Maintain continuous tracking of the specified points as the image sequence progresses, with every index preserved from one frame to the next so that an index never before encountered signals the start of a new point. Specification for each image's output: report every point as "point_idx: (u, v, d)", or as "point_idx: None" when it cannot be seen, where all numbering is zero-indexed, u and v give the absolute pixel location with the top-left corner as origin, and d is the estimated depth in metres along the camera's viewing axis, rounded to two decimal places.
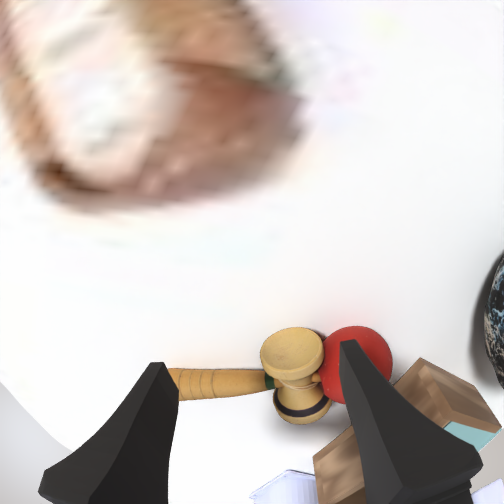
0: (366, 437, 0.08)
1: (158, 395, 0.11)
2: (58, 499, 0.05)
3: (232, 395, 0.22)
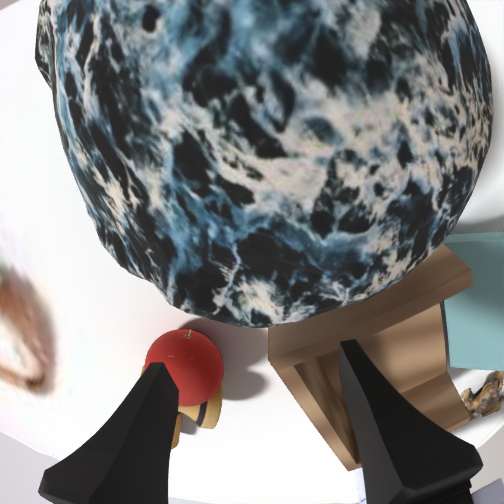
0: (366, 437, 0.08)
1: (158, 395, 0.11)
2: (58, 499, 0.05)
3: None
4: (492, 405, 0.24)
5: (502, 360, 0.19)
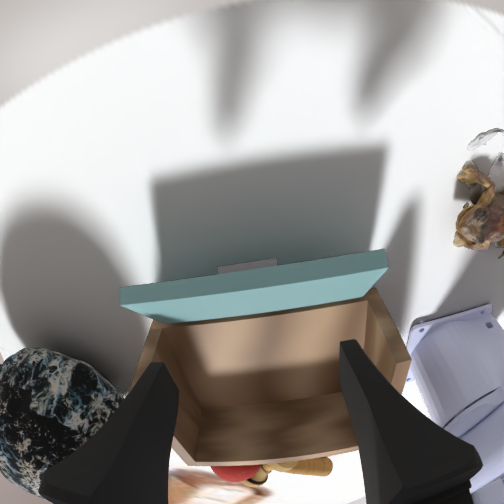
0: (366, 437, 0.08)
1: (158, 395, 0.11)
2: (58, 499, 0.05)
3: (299, 471, 0.32)
4: (502, 220, 0.15)
5: (355, 278, 0.15)
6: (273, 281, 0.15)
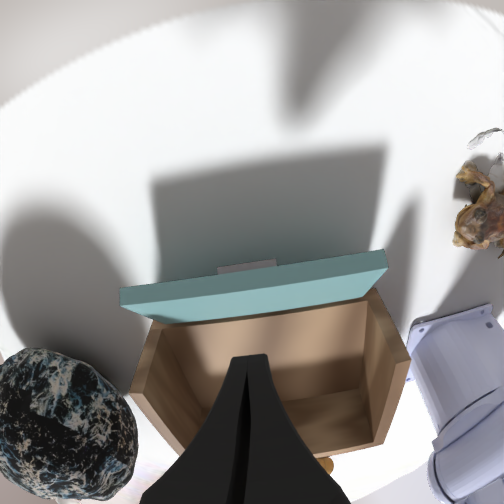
0: None
1: (248, 391, 0.10)
2: None
3: None
4: (502, 219, 0.15)
5: (355, 278, 0.15)
6: (272, 282, 0.15)
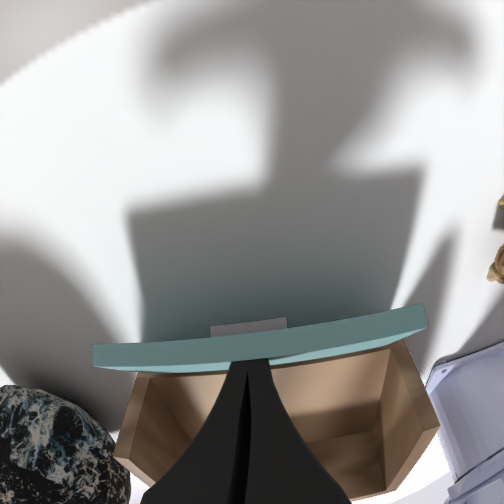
0: None
1: (249, 391, 0.10)
2: None
3: None
4: None
5: (385, 339, 0.12)
6: (281, 349, 0.11)
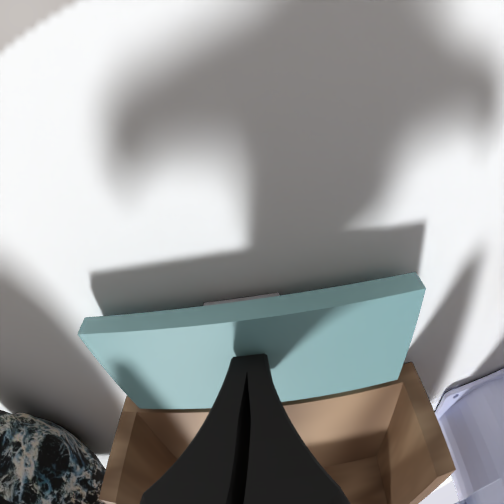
0: None
1: (248, 391, 0.10)
2: None
3: None
4: None
5: (385, 315, 0.11)
6: (272, 311, 0.11)
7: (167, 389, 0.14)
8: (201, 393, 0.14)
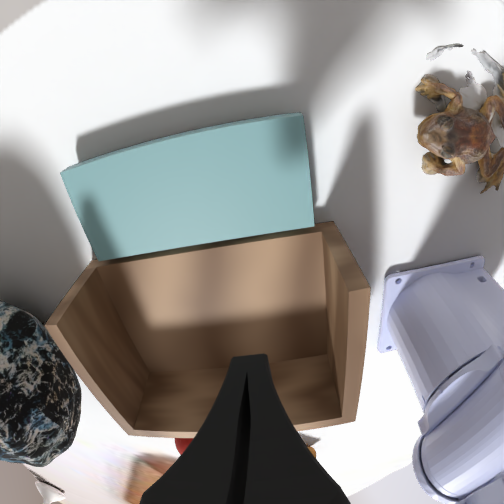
0: None
1: (248, 391, 0.10)
2: None
3: None
4: (475, 131, 0.13)
5: (274, 138, 0.15)
6: (189, 133, 0.15)
7: (119, 227, 0.18)
8: (144, 229, 0.18)
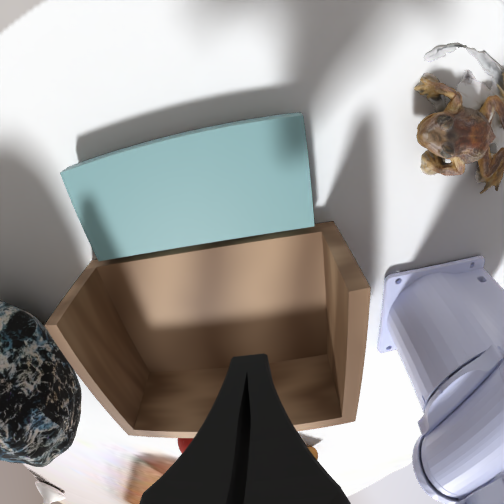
0: None
1: (248, 391, 0.10)
2: None
3: None
4: (474, 131, 0.13)
5: (274, 138, 0.15)
6: (189, 133, 0.15)
7: (119, 227, 0.18)
8: (144, 229, 0.18)
